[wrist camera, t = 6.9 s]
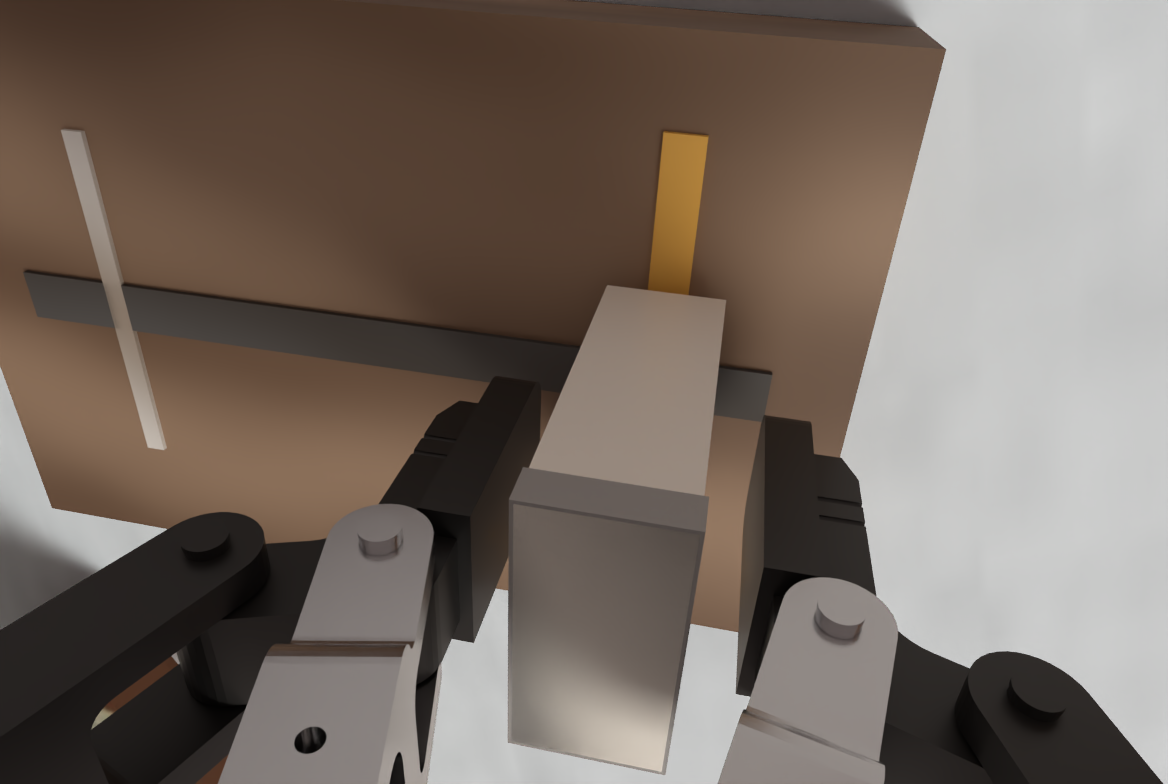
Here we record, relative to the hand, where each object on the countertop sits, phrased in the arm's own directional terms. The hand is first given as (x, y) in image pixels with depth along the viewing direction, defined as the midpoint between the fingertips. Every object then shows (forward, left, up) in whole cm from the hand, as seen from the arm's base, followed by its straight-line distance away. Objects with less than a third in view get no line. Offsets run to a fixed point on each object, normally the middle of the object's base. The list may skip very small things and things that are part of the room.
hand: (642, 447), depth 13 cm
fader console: (0, -5, -5) cm, 7 cm away
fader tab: (0, 0, -2) cm, 2 cm away
